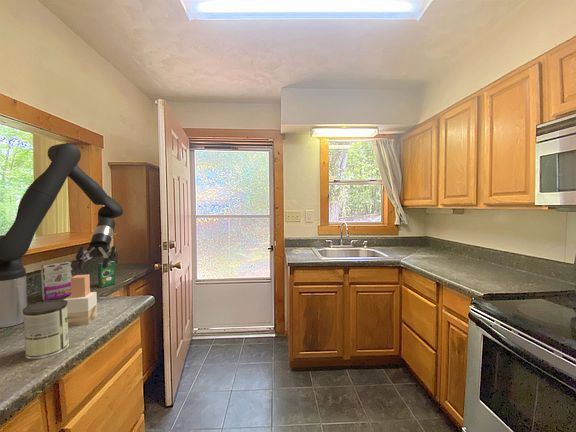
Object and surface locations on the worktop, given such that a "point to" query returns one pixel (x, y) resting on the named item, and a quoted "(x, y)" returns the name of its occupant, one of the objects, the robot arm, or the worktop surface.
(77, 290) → the peach block
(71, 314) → the oak tower block
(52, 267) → the candy bar box
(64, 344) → the coffee can
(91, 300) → the cream tower block
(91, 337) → the worktop surface
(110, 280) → the coffee box
